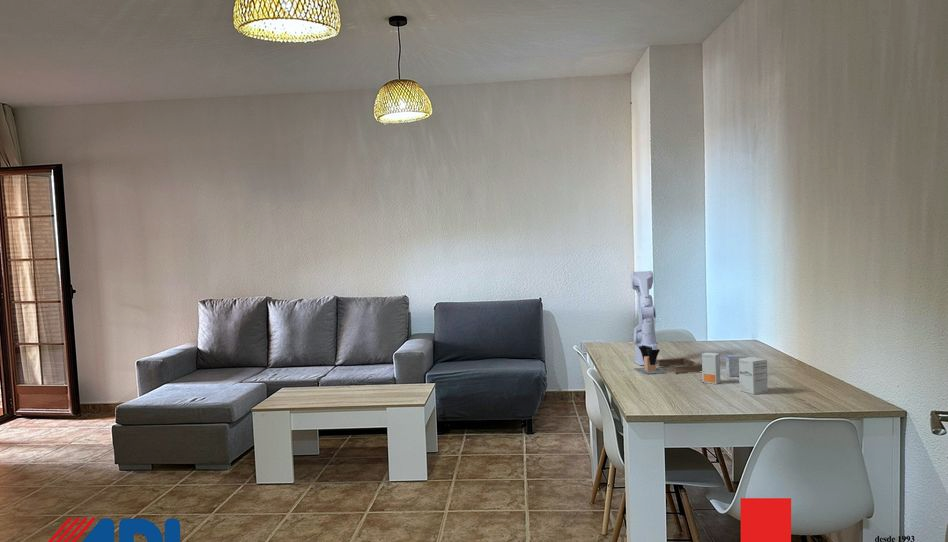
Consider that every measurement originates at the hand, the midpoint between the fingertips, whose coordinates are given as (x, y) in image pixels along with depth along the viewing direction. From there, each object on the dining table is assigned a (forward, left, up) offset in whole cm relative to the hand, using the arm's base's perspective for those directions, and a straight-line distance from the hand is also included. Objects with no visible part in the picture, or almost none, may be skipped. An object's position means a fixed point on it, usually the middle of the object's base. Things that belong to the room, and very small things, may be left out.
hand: (649, 363), depth 313 cm
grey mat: (0, 0, -4) cm, 4 cm away
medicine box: (+22, +30, -4) cm, 37 cm away
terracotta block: (0, 0, -3) cm, 3 cm away
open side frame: (0, +14, -4) cm, 14 cm away
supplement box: (+51, +21, -4) cm, 55 cm away
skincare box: (+31, +14, -4) cm, 34 cm away
